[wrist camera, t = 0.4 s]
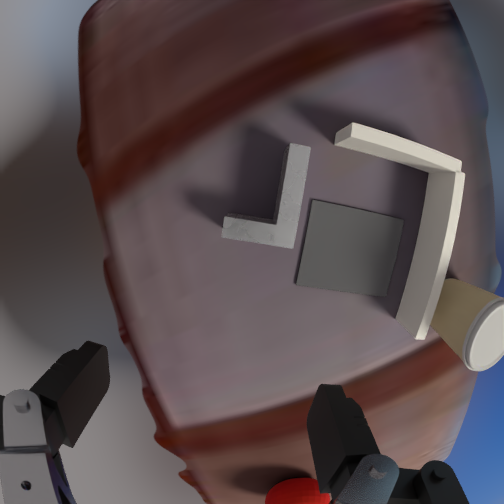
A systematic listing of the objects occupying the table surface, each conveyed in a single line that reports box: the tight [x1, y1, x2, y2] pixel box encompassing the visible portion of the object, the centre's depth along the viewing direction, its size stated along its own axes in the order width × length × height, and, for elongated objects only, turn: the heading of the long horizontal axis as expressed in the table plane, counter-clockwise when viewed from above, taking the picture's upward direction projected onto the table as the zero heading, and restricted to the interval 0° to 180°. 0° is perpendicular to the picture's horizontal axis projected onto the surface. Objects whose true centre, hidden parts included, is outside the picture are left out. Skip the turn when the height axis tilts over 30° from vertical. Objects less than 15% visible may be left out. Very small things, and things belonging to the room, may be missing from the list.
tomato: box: [265, 478, 330, 504], centre depth 39 cm, size 12×12×10 cm
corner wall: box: [334, 122, 465, 340], centre depth 31 cm, size 21×15×6 cm
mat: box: [296, 200, 404, 297], centre depth 34 cm, size 10×12×1 cm
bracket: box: [222, 143, 311, 249], centre depth 30 cm, size 10×7×5 cm
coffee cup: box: [430, 278, 504, 371], centre depth 30 cm, size 9×9×12 cm
